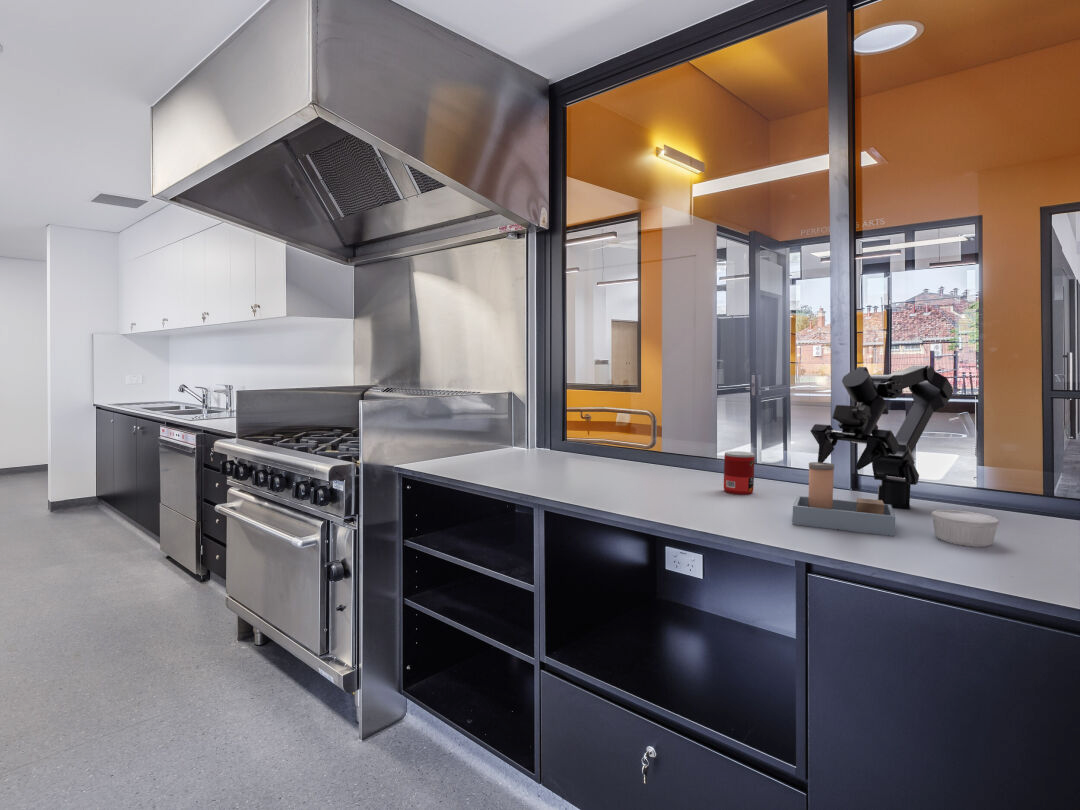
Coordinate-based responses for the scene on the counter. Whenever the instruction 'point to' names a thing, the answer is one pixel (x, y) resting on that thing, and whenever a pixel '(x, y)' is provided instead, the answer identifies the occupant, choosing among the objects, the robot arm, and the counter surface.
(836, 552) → the counter surface
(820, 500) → the shaker
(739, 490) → the canned food
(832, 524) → the tote
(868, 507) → the cube
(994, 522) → the ramekin
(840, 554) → the counter surface
